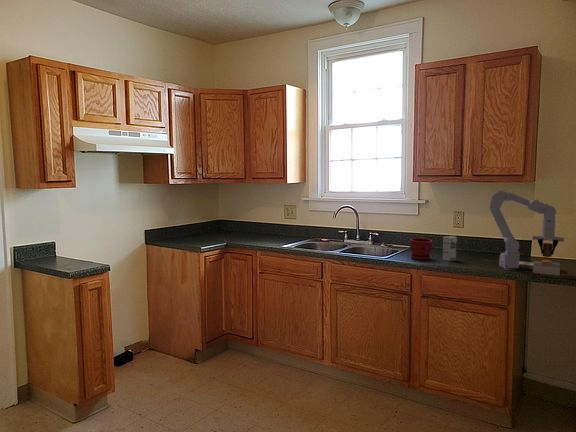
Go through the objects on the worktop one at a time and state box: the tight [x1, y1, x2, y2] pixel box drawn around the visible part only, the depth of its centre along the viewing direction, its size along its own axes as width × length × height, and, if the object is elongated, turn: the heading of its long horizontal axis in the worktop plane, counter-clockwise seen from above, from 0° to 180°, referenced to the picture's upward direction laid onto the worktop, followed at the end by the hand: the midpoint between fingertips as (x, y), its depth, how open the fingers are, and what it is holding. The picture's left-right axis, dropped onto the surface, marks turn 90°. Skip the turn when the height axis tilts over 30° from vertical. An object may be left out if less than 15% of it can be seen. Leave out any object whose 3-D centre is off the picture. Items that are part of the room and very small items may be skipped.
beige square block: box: [519, 260, 534, 266], centre depth 253 cm, size 9×9×1 cm
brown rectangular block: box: [542, 242, 553, 258], centre depth 234 cm, size 3×3×7 cm
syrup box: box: [442, 235, 458, 262], centre depth 267 cm, size 6×6×14 cm
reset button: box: [541, 259, 553, 265], centre depth 235 cm, size 4×4×3 cm
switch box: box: [532, 260, 561, 276], centre depth 235 cm, size 12×12×4 cm
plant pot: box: [409, 237, 433, 261], centre depth 272 cm, size 13×13×12 cm
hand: (547, 253), depth 234 cm, fingers closed on brown rectangular block, 4 cm apart
